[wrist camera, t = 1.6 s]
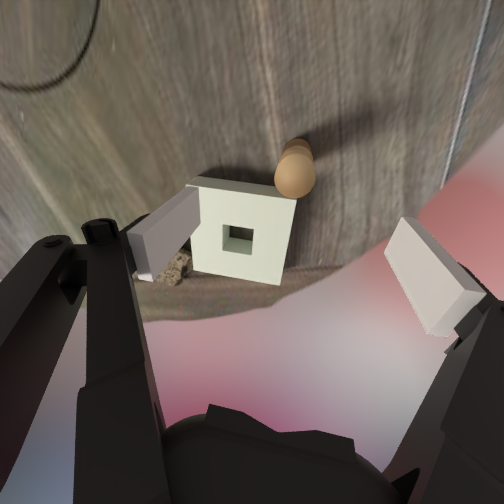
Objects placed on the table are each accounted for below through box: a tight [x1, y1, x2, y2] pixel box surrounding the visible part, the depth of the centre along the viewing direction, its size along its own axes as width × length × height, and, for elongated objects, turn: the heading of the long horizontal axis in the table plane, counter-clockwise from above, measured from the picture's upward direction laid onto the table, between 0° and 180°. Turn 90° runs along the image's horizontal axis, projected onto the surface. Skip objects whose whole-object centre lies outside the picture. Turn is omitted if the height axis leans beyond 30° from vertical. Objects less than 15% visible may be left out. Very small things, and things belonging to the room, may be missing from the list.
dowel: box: [274, 138, 316, 198], centre depth 27 cm, size 4×4×12 cm
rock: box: [156, 248, 193, 286], centre depth 45 cm, size 11×11×4 cm
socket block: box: [186, 176, 297, 286], centre depth 38 cm, size 16×16×4 cm
